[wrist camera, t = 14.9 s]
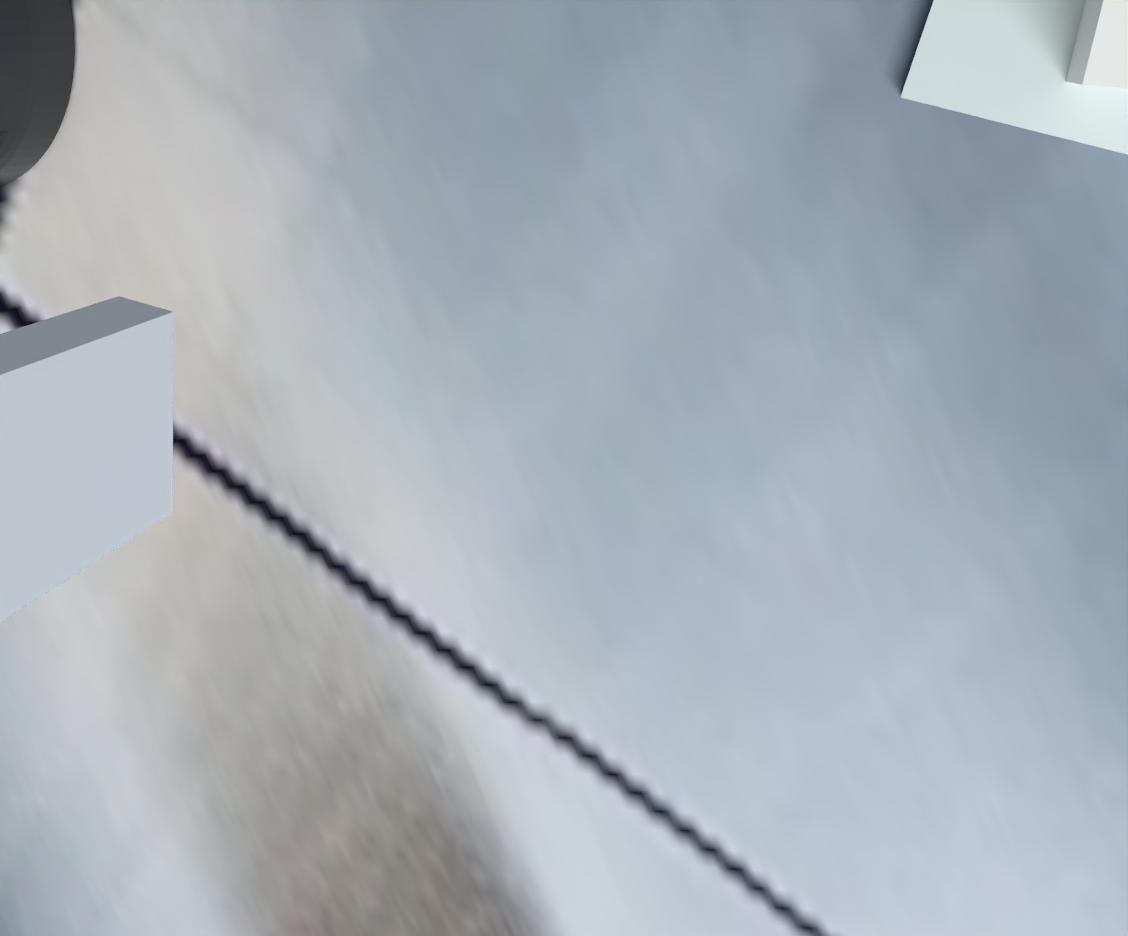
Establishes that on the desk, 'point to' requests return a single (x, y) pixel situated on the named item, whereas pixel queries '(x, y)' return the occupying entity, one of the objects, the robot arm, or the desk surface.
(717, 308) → the desk surface
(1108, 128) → the mat
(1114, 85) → the card deck box
